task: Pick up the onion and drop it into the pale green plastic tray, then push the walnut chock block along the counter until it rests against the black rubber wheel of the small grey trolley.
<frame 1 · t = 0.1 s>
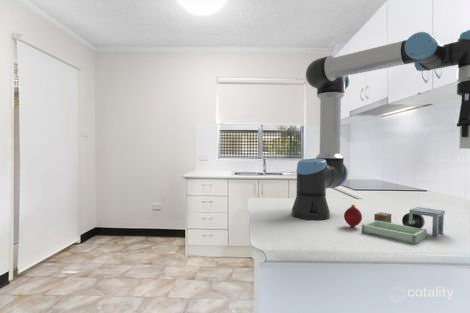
trolley: (423, 231, 99), on the worktop
tray: (393, 234, 94), on the worktop
onion: (352, 227, 103), on the worktop
chock: (382, 224, 108), on the worktop
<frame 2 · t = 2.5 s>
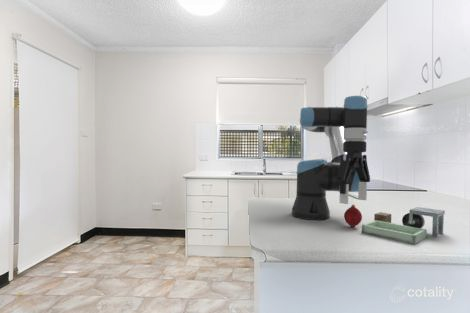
hand: (353, 201, 103), 9 cm above the worktop, fingers open, 13 cm apart
nothing on the worktop moved.
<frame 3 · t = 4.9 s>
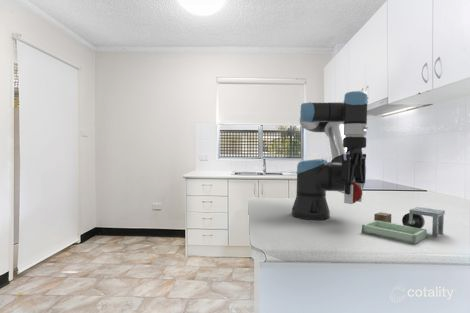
hand: (353, 202, 104), 9 cm above the worktop, fingers closed on onion, 6 cm apart
onion: (353, 203, 104), point 8 cm above the worktop, touching gripper
everything else where it was.
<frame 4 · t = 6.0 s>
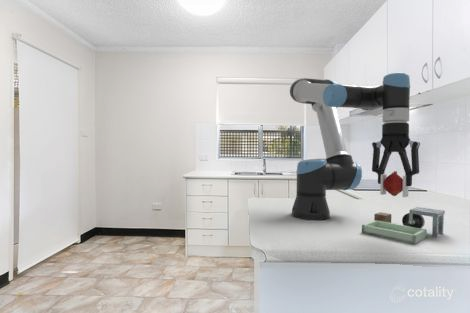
hand: (394, 195, 94), 13 cm above the worktop, fingers closed on onion, 6 cm apart
onion: (393, 196, 94), point 12 cm above the worktop, touching gripper
everything else where it was.
when the fingers open (2 cm above the worktop, at t = 7.4 s): onion drops 1 cm, resting on tray.
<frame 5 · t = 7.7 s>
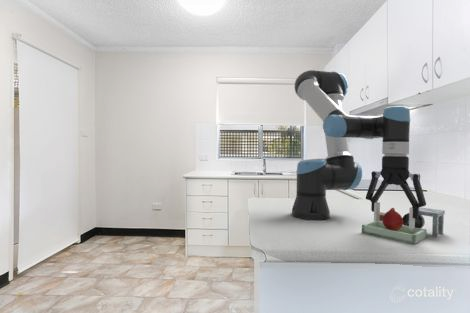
hand: (393, 225, 94), 3 cm above the worktop, fingers open, 10 cm apart
onion: (393, 233, 94), point 1 cm above the worktop, touching tray
everything else where it was.
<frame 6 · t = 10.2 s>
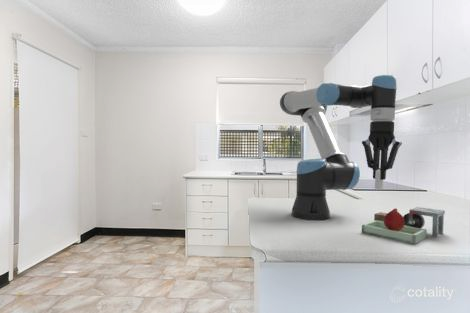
hand: (378, 188, 103), 14 cm above the worktop, fingers closed
nothing on the worktop moved.
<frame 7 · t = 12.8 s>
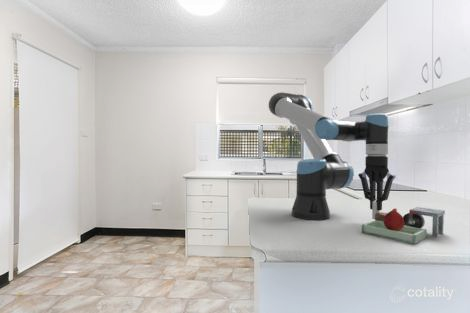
hand: (375, 218, 110), 2 cm above the worktop, fingers closed
chock: (383, 224, 108), on the worktop, touching gripper
everything else where it was.
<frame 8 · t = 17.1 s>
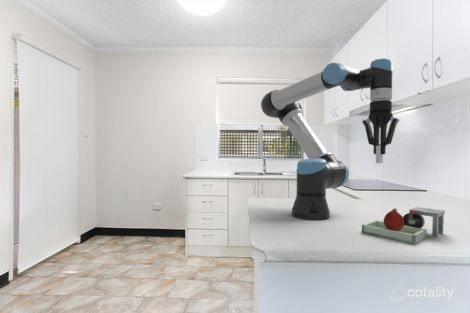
hand: (379, 163, 112), 22 cm above the worktop, fingers closed
chock: (393, 226, 106), on the worktop
everything else where it was.
at the end: onion inside the target area on the tray (0.1 cm from its centre), point 0.4 cm above the tray's base; chock 0.9 cm from the target spot on the worktop beside the trolley, on the worktop; the gripper is holding nothing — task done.
